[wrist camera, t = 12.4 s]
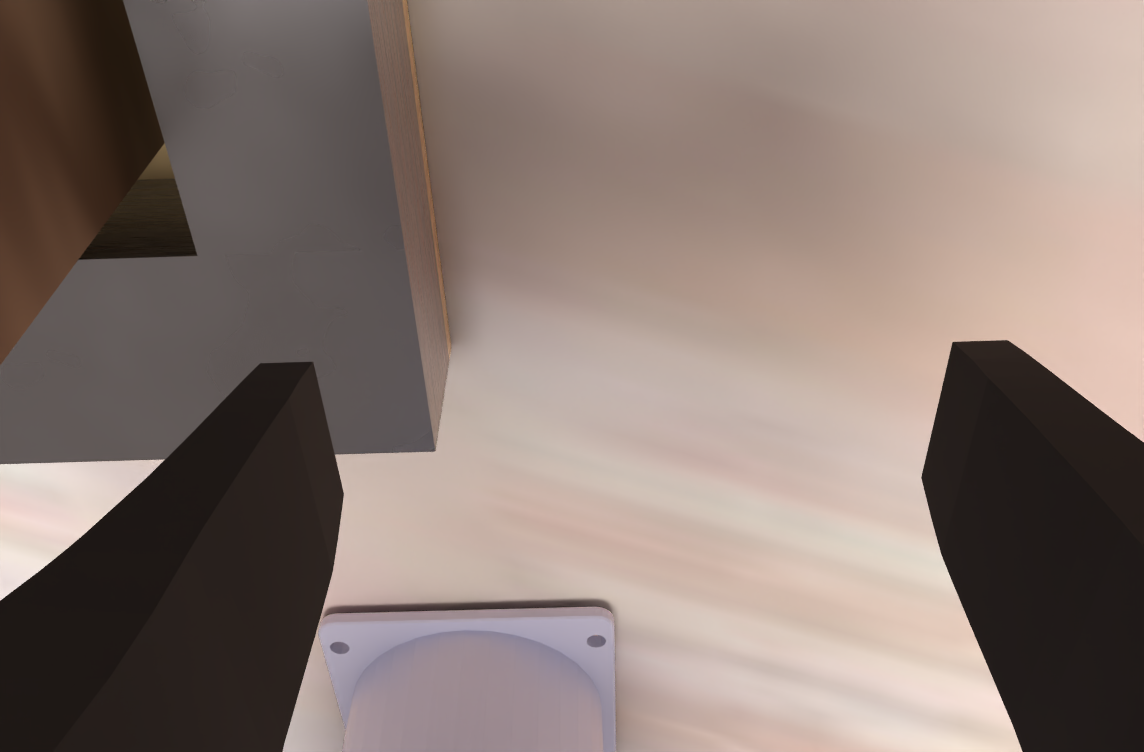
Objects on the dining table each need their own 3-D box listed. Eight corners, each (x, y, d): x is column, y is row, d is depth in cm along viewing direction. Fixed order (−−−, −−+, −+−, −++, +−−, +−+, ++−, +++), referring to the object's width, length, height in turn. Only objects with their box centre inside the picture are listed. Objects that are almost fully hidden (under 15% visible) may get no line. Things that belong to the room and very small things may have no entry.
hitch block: (451, 346, 23) (435, 451, 20) (-130, 364, 23) (-227, 470, 20) (333, -569, 14) (274, -613, 11) (-621, -525, 14) (-919, -557, 11)
